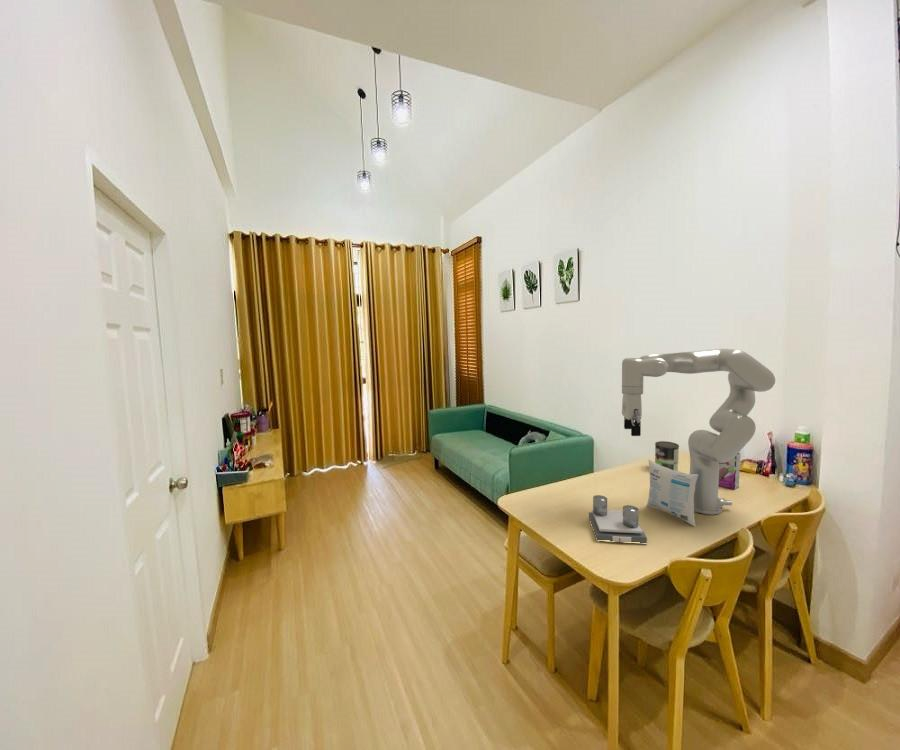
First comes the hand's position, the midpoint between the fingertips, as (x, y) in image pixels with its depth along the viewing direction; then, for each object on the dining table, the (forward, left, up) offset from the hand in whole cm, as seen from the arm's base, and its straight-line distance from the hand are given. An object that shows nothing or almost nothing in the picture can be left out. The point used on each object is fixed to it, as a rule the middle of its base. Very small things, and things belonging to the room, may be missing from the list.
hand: (632, 432), depth 145 cm
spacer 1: (+14, +13, -28) cm, 34 cm away
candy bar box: (-46, -27, -32) cm, 62 cm away
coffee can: (-28, -42, -32) cm, 60 cm away
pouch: (-13, +4, -32) cm, 35 cm away
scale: (+10, +17, -32) cm, 38 cm away
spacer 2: (+6, +20, -28) cm, 35 cm away
